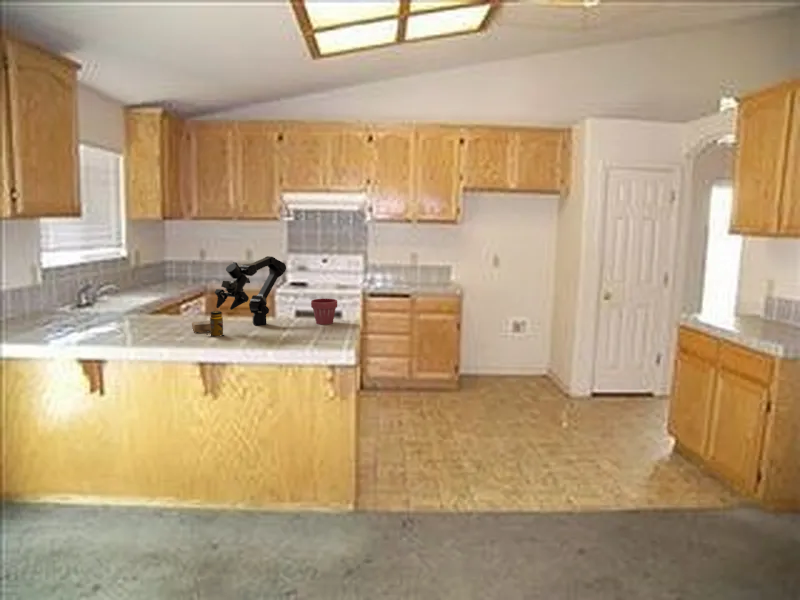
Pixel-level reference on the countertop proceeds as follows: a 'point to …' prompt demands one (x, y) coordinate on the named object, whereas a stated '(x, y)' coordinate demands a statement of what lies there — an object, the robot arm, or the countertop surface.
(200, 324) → the base block
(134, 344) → the countertop surface
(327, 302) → the plant pot
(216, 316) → the condiment
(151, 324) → the countertop surface
